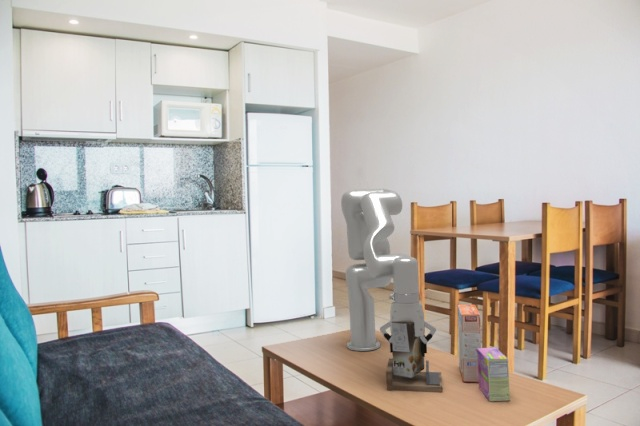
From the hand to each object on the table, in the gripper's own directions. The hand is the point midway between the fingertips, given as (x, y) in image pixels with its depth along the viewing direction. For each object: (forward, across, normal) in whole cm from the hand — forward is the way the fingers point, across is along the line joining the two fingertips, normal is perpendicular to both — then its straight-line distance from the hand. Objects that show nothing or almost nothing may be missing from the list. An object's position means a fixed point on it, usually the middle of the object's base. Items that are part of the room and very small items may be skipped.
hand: (408, 354), depth 153 cm
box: (+9, +24, -6) cm, 26 cm away
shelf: (+9, +2, 0) cm, 9 cm away
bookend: (+7, +7, 0) cm, 10 cm away
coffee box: (+5, 0, 0) cm, 5 cm away
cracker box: (+9, +18, +9) cm, 22 cm away
